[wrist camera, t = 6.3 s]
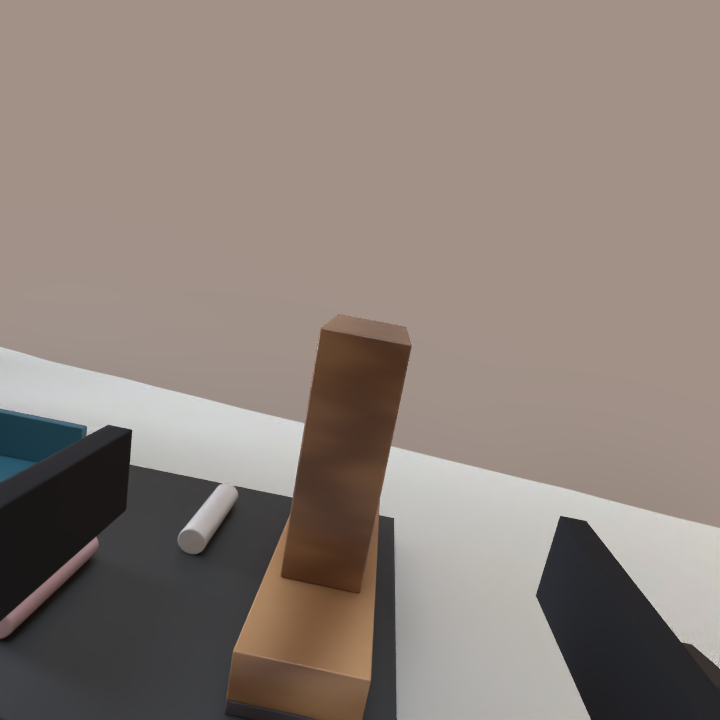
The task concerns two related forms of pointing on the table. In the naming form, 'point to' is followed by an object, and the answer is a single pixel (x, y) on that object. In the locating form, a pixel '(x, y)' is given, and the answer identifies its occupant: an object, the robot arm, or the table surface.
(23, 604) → the chalk
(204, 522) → the chalk
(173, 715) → the chalkboard
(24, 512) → the robot arm
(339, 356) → the wooden block on base
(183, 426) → the table surface
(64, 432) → the dustpan
